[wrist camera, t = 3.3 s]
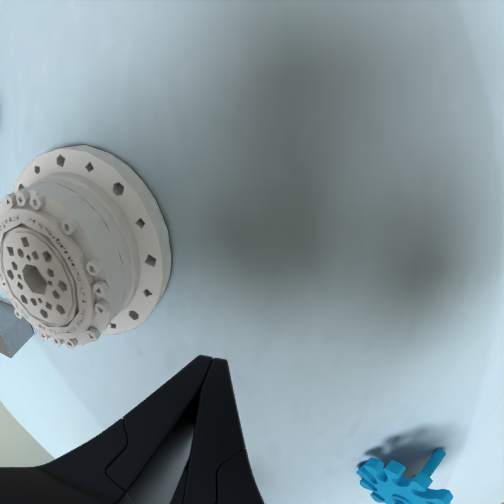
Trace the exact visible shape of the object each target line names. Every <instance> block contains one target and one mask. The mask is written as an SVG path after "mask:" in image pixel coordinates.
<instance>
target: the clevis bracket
mask: <svg viewBox="0 0 504 504" xmlns="http://www.w3.org/2000/svg"><path fill="white" fill-rule="evenodd" d="M14 310H15V308H14V307H13V306H11V305H8V304H6V303H3V302H1V301H0V353H2V354H4V355H6V356H8V357H10V358H12V357H13V356H14V355H15V353H16V352H17V351H18V350H19V349H20V348H21V347H22V346H23V345H24V344H25V343H26V342H27V341H28V340H29V339H30V338H31V337H32V335H33V334H34V333H33V330H32V327H31V324H30V323H29V322H28V321H27V320H26V319H25V318H24V317H22V318H21V319H19V318H18V317H17V316H16V315H15V312H14Z"/></svg>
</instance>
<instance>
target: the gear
mask: <svg viewBox="0 0 504 504" xmlns="http://www.w3.org/2000/svg"><path fill="white" fill-rule="evenodd" d="M445 454H446V453H445V451H444V450H442V449H436V451H435V452H434V454H433V455H432V456H431V458H430V459H429V461H428V462H427V463H426V465H425V466H424V467H423V469H422V470H421V471H420V472H419V473H418V474H417V475H414V476H412V478H405V477H403V476H402V475H401V474H402V473H403V472H404V471H405V469H406V468H405V466H404V465H402V464H401V463H399V462H396V461H394V460H391V461H390V463H389V464H388V465H387V466H386V467H385V468H384V469H383V467H384V463H383V462H382V461H381V460H380V459H377V458H370V459H369V460H368V461H367V462H366V463H365V464H363V465H362V466H361V467H360V468H359V470H358V471H357V472H356V473H357V474H358V475H360V476H361V477H363V478H362V479H361V480H360V484H361V486H363V487H364V488H366V489H369V490H371V491H373V492H372V493H371V494H370V495H371V497H372V498H373V499H374V500H375V501H377V502H383V503H386V504H449V503H450V502H451V500H452V499H453V496H452V494H451V492H450V491H449V490H446V489H440V490H433V489H428V487H429V486H430V484H431V483H432V481H433V480H432V479H431V478H430V476H431V475H432V473H433V472H434V470H435V469H436V468H437V466H438V465H439V463H440V462H441V460H442V459H443V457H444V456H445Z"/></svg>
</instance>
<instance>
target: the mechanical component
mask: <svg viewBox="0 0 504 504" xmlns="http://www.w3.org/2000/svg"><path fill="white" fill-rule="evenodd" d="M170 269H171V251H170V244H169V236H168V229H167V226H166V224H165V222H164V219H163V217H162V214H161V212H160V209H159V207H158V204H157V202H156V200H155V199H154V197H153V195H152V194H151V192H150V191H149V189H148V188H147V186H146V184H145V183H144V182H143V181H142V180H141V179H140V177H139V176H138V175H137V174H136V173H135V172H134V171H133V170H132V169H131V168H130V167H129V166H128V165H127V164H125V163H124V162H122V161H121V160H119V159H118V158H116V157H115V156H114V155H112V154H111V153H108V152H105V151H102V150H99V149H96V148H93V147H90V146H87V145H79V146H71V147H65V148H59V149H56V150H53V151H50V152H47V153H44V154H41V155H38V156H37V157H36V158H35V159H34V160H33V161H32V162H31V163H29V164H28V165H27V166H26V167H25V168H24V170H23V171H22V173H21V174H20V176H19V178H18V179H17V181H16V184H15V187H14V190H13V192H12V194H9V195H7V196H6V197H5V198H4V199H3V200H2V201H1V202H0V289H1V290H2V289H3V290H4V292H5V294H6V296H7V297H8V299H9V300H10V302H11V303H12V305H13V306H14V308H15V310H14V312H15V315H16V316H17V317H18V318H19V319H21V318H22V317H24V318H25V319H26V320H27V321H28V322H29V323H30V324H31V325H32V326H34V327H35V328H36V329H37V330H39V335H40V336H41V337H42V339H44V340H47V339H48V338H49V337H51V338H52V341H53V342H54V344H56V345H58V346H60V345H62V344H63V343H65V344H66V345H67V346H68V347H69V348H72V349H73V348H74V347H75V346H76V345H84V344H86V343H89V342H91V341H95V340H97V339H98V338H99V337H100V335H101V334H119V333H123V332H126V331H129V330H132V329H135V328H137V327H138V326H139V325H140V324H141V323H142V322H143V321H145V320H146V319H147V318H148V316H149V315H150V313H151V312H152V310H153V309H154V308H155V306H156V305H157V303H158V301H159V300H160V298H161V297H162V295H163V293H164V292H165V289H166V286H167V283H168V280H169V278H170Z"/></svg>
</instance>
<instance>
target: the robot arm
mask: <svg viewBox="0 0 504 504" xmlns="http://www.w3.org/2000/svg"><path fill="white" fill-rule="evenodd" d="M245 448H246V447H245V442H244V438H243V433H242V429H241V424H240V419H239V415H238V410H237V405H236V400H235V396H234V391H233V386H232V381H231V376H230V371H229V366H228V361H227V360H225V359H220V358H214V359H213V358H212V357H210V356H205V355H199V356H197V357H196V358H195V359H194V360H193V361H191V362H190V363H189V364H188V365H187V366H185V367H184V368H183V369H182V370H181V371H179V372H178V373H177V374H176V375H174V376H173V377H172V378H171V379H170V380H168V381H167V382H166V383H165V384H163V385H162V386H161V387H160V388H159V389H157V390H156V391H155V392H154V393H152V394H151V395H150V396H149V397H147V398H146V399H145V400H144V401H142V402H141V403H140V404H139V405H137V406H136V407H135V408H134V409H132V410H131V411H130V412H129V413H127V414H126V415H125V416H123V419H122V418H121V419H119V420H118V421H117V422H116V423H114V424H113V425H112V426H110V427H109V428H108V429H106V430H105V431H103V432H102V433H101V434H99V435H97V436H96V437H94V438H93V439H91V440H89V441H88V442H86V443H84V444H83V445H81V446H79V447H77V448H75V449H74V450H72V451H70V452H68V453H66V454H65V455H63V456H61V457H59V458H57V459H55V460H53V461H51V462H49V463H46V464H44V465H40V466H35V467H0V504H264V501H263V499H262V497H261V495H260V492H259V490H258V487H257V485H256V482H255V479H254V477H253V474H252V470H251V466H250V463H249V459H248V455H247V450H246V449H245ZM189 455H190V456H189ZM188 457H189V462H188V461H187V460H188Z"/></svg>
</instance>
